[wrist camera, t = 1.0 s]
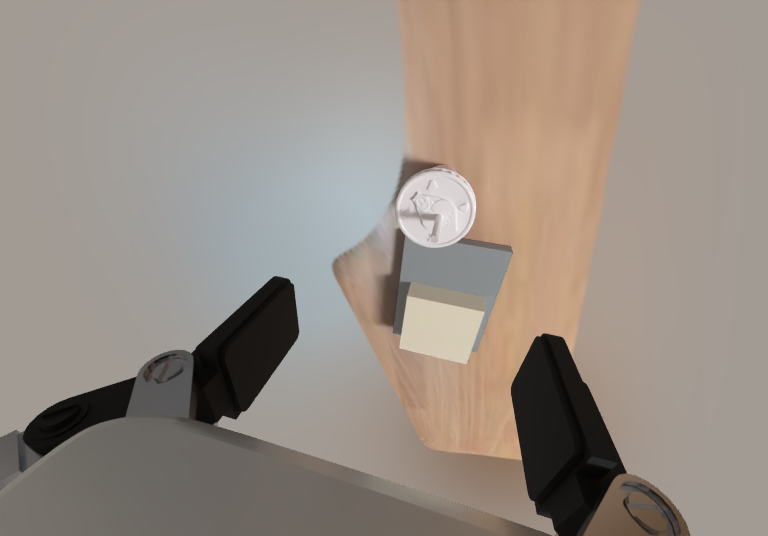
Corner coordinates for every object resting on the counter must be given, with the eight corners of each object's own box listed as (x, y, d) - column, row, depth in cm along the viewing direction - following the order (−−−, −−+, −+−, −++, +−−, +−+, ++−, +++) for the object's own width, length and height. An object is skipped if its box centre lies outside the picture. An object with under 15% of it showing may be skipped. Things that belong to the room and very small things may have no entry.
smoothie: (443, 222, 32) (431, 291, 20) (400, 185, 31) (363, 236, 19) (486, 178, 29) (502, 231, 17) (439, 136, 28) (423, 161, 16)
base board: (407, 229, 34) (400, 245, 30) (511, 246, 32) (517, 266, 28) (394, 326, 42) (388, 348, 38) (475, 344, 40) (477, 369, 36)
